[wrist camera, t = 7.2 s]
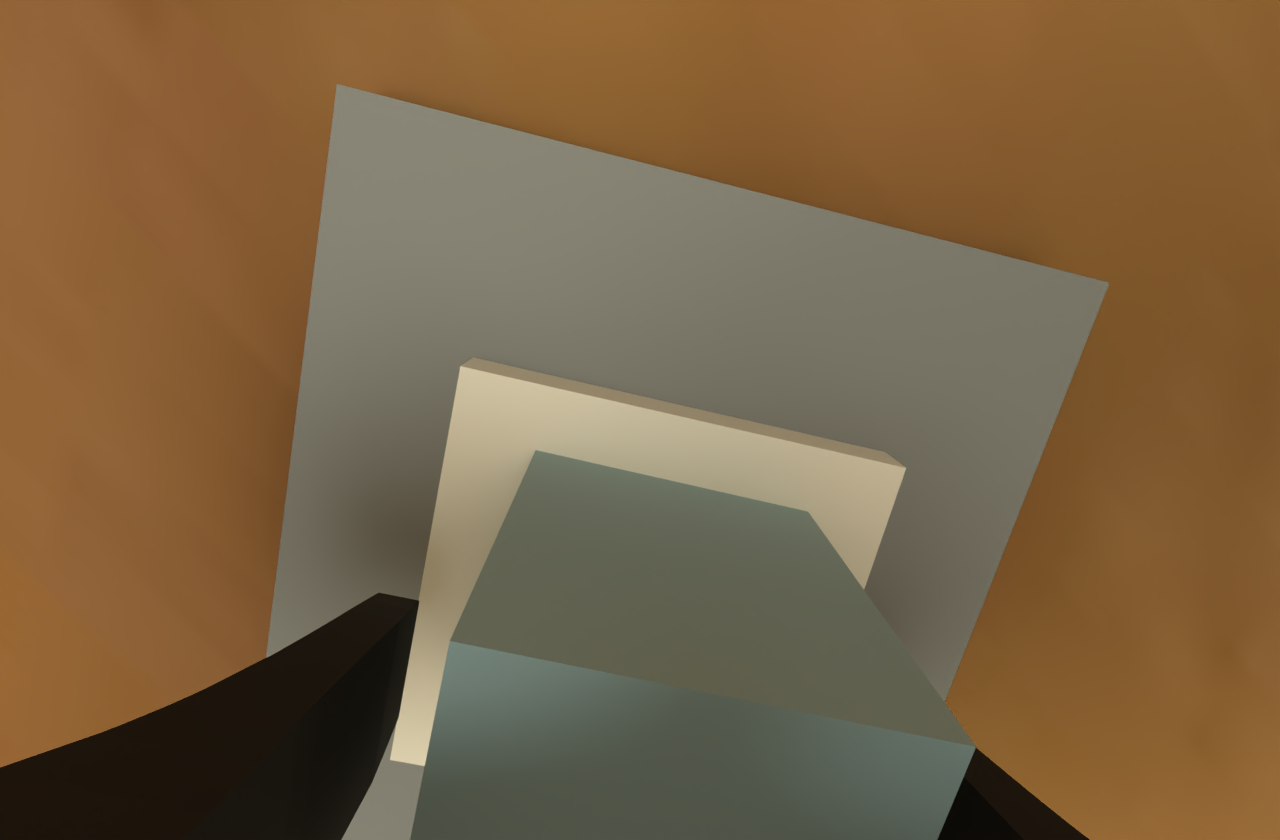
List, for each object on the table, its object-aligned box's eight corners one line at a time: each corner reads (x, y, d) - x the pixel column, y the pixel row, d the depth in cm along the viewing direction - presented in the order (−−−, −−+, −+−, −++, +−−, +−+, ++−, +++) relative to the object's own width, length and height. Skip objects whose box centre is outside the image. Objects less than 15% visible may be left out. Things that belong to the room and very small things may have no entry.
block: (807, 511, 12) (976, 746, 6) (733, 743, 13) (818, 1122, 8) (535, 450, 12) (450, 640, 6) (482, 693, 13) (367, 1054, 7)
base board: (1043, 278, 14) (1151, 284, 11) (821, 878, 18) (859, 999, 15) (379, 108, 13) (310, 67, 10) (286, 783, 17) (215, 894, 14)
